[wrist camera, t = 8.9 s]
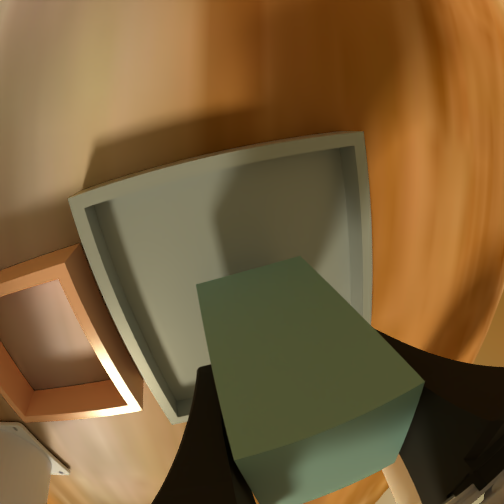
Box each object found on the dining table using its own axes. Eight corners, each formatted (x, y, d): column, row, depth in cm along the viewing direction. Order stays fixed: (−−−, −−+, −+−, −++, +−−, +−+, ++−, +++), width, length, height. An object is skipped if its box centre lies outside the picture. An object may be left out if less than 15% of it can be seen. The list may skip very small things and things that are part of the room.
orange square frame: (32, 397, 15) (24, 422, 13) (-35, 284, 12) (-56, 304, 9) (143, 380, 17) (142, 410, 14) (80, 242, 13) (64, 262, 11)
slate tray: (170, 401, 18) (172, 424, 16) (81, 190, 12) (67, 198, 10) (353, 345, 20) (368, 362, 18) (341, 130, 14) (363, 131, 12)
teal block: (221, 363, 14) (266, 514, 7) (195, 284, 12) (234, 460, 5) (308, 336, 15) (394, 462, 7) (300, 255, 13) (425, 381, 6)
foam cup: (381, 393, 23) (460, 496, 12) (439, 380, 26) (509, 455, 14) (339, 453, 26) (392, 544, 14) (399, 437, 29) (451, 508, 17)
